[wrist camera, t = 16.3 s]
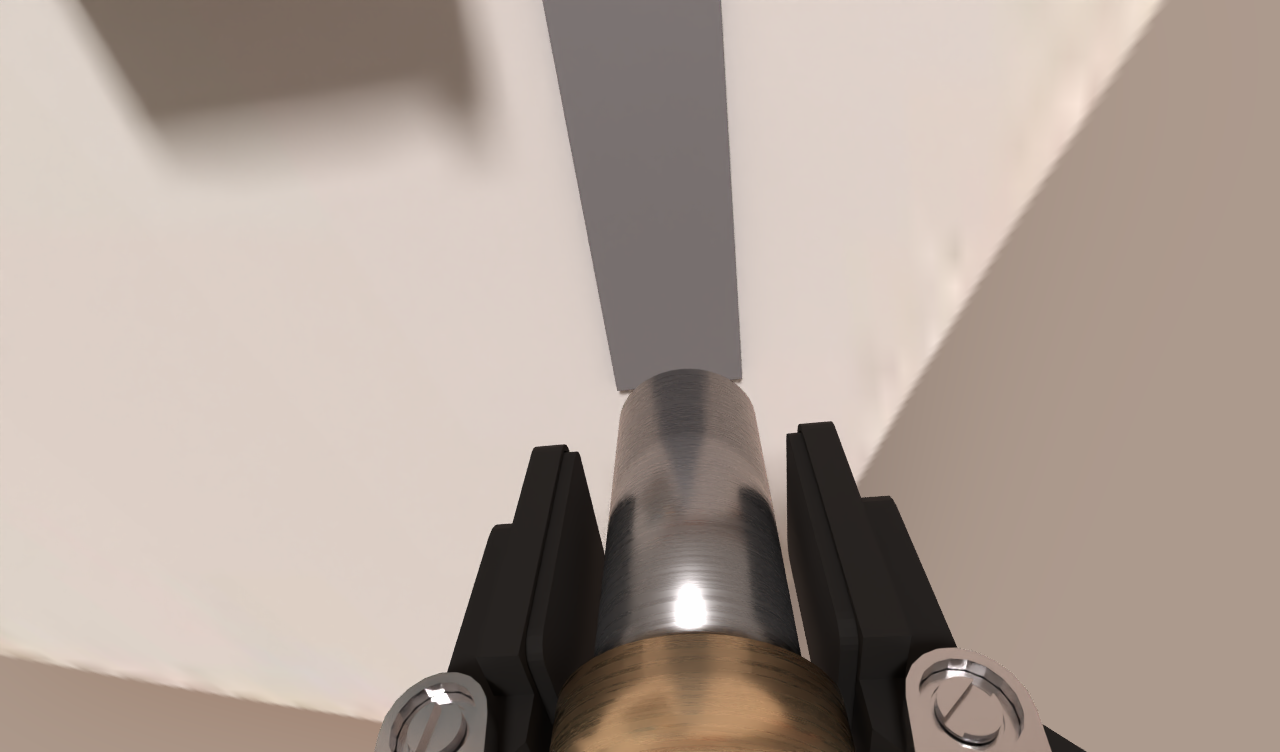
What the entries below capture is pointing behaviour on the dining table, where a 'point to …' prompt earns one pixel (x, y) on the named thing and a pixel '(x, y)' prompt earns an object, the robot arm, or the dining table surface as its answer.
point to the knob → (695, 593)
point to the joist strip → (653, 178)
